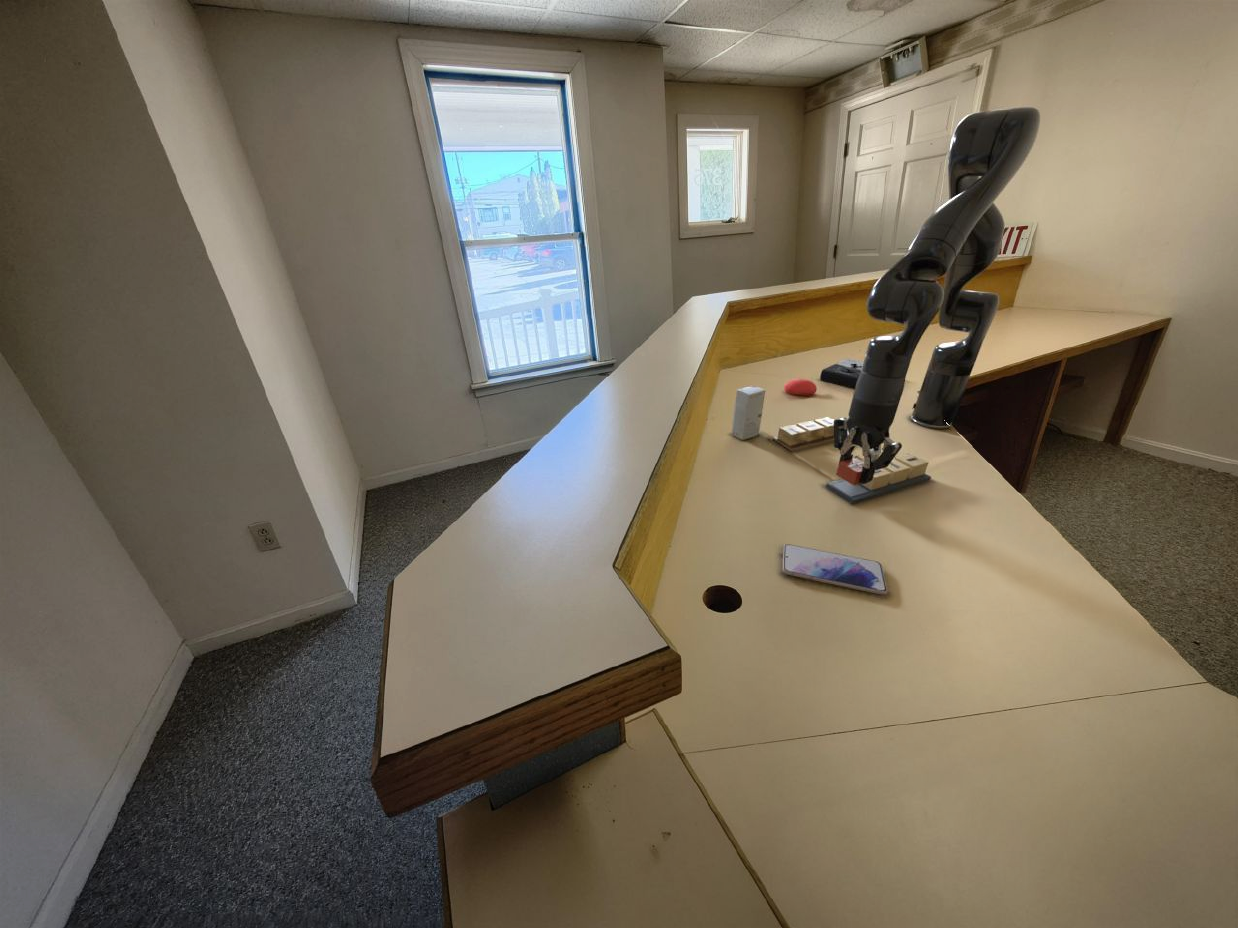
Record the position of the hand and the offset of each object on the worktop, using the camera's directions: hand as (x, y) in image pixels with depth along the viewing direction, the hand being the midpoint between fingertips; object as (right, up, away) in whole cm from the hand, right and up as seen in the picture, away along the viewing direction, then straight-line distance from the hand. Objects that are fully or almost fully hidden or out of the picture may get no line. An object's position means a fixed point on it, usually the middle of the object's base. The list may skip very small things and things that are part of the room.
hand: (853, 476), depth 91 cm
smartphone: (-13, -15, -18) cm, 26 cm away
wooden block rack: (+8, -2, +5) cm, 9 cm away
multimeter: (+32, +31, +63) cm, 77 cm away
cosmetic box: (-15, +10, +26) cm, 31 cm away
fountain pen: (+4, +1, +8) cm, 9 cm away
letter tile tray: (+3, +9, +24) cm, 25 cm away
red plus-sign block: (0, 0, 0) cm, 0 cm away
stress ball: (+9, +24, +51) cm, 57 cm away
